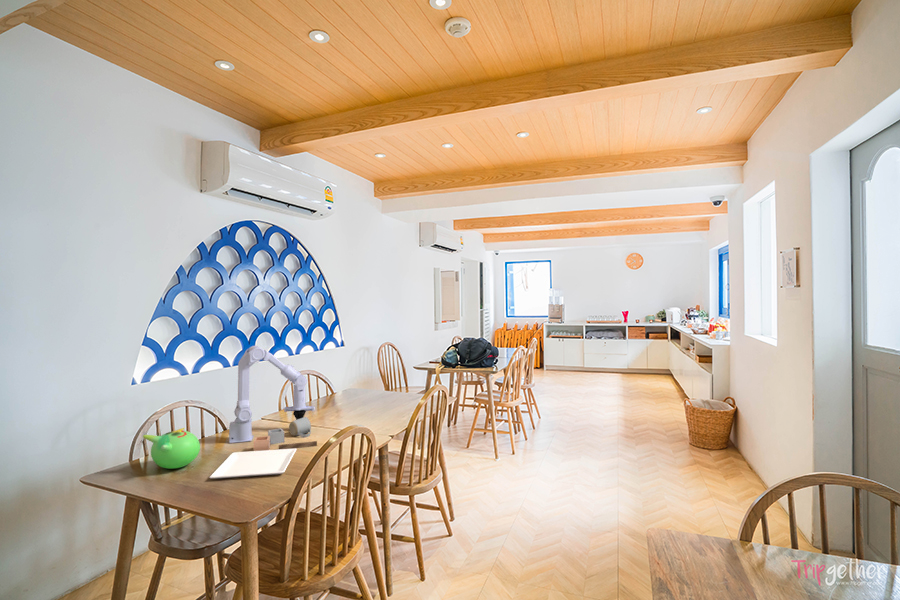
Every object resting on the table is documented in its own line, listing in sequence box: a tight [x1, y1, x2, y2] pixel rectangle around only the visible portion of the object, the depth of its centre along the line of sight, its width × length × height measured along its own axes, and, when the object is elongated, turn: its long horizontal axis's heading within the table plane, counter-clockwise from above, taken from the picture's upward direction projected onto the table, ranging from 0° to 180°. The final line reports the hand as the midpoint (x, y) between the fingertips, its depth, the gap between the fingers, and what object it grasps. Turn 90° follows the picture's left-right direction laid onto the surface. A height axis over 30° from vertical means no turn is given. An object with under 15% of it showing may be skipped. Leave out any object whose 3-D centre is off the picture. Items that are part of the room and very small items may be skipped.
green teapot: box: [142, 427, 201, 469], centre depth 174 cm, size 18×17×15 cm
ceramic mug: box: [288, 416, 312, 438], centre depth 213 cm, size 11×8×8 cm
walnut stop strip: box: [278, 440, 318, 450], centre depth 195 cm, size 16×1×2 cm, turn 107°
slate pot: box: [267, 428, 285, 446], centre depth 204 cm, size 6×6×5 cm
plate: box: [209, 448, 298, 479], centre depth 175 cm, size 26×26×2 cm
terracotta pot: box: [253, 435, 271, 451], centre depth 193 cm, size 6×6×5 cm
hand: (299, 425), depth 221 cm, fingers closed
